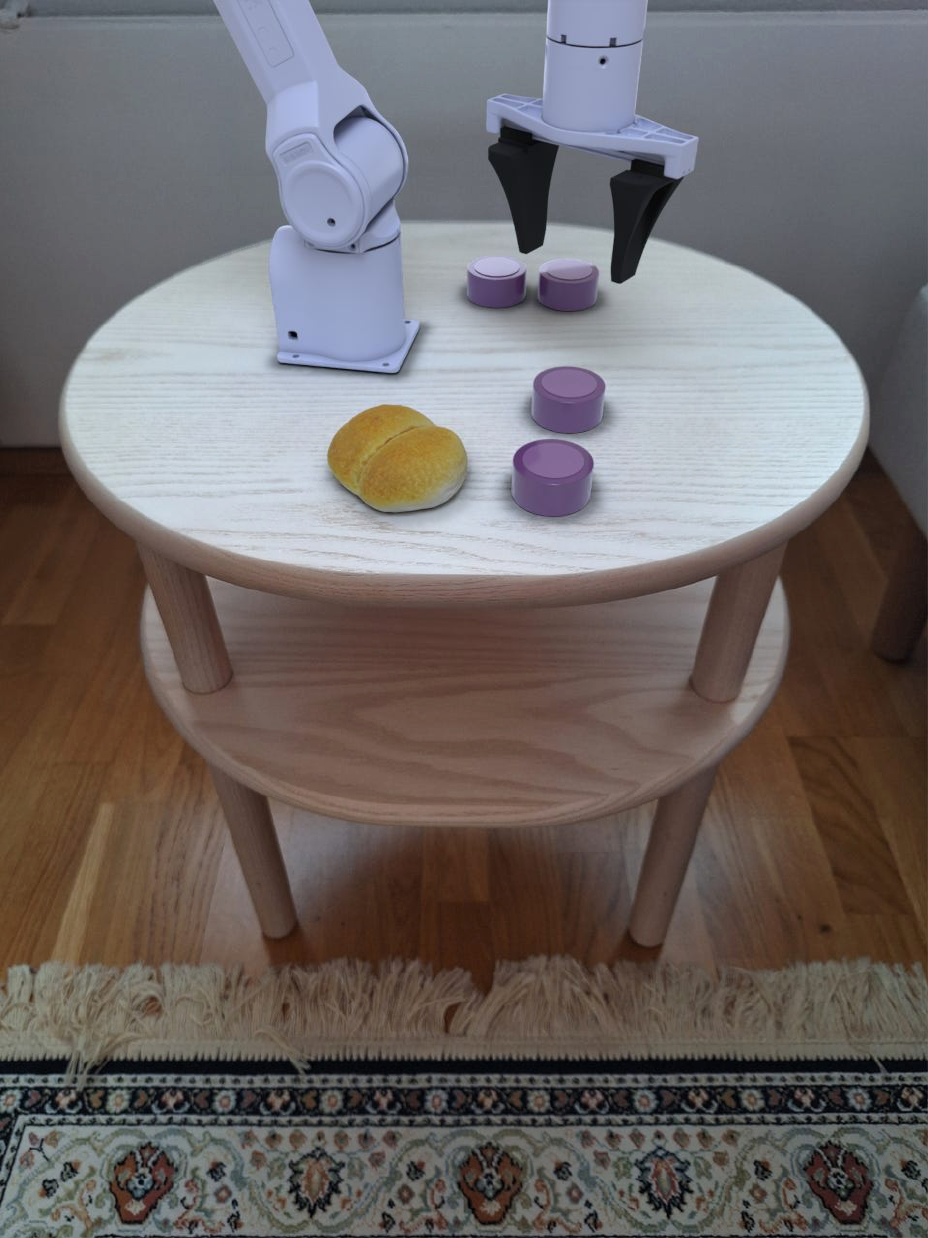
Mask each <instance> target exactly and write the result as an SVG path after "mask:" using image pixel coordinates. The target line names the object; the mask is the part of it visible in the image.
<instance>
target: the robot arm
mask: <svg viewBox="0 0 928 1238" xmlns="http://www.w3.org/2000/svg"><path fill="white" fill-rule="evenodd" d="M212 2H213V3H214V5H215V8H216V9H217V12H218V14H219V15H220V17H221V19H222V21H223V23H224V25H225V27H226V29H227V31H228V33H229V35H230V37H231V39H232V41H233V43H234V44H235V47H236V48H237V50H238V52H239V54H240V57H241V58H242V60H243V62H244V64H245V66H246V68H247V70H248V72H249V74H250V76H251V78H252V80H253V82H254V84H255V85H256V87H257V89H258V92H259V93H260V95H261V98H262V99H263V101H264V103H265V105H266V111H267V112H266V125H265V127H266V129H265V140H264V141H265V142H264V144H265V145H264V146H265V147H264V150H265V153H266V156H267V158H268V159H269V161H270V163H271V165H272V167H273V170H274V172H275V175H276V178H277V184H278V194H279V201H280V207H281V209H282V212H283V214H284V216H285V218H286V220H287V222H288V225H281V226H280V227H278V228H277V230H276V231H275V232H274V235H273V238H272V240H271V243H270V247H269V248H270V249H269V256H268V277H269V278H268V279H269V286H270V292H271V293H270V294H271V300H272V307H273V313H274V320H275V327H276V334H277V340H278V341H277V342H278V349H279V351H278V353H277V355H276V359H277V362H279V363H281V364H282V363H283V364H293V365H302V366H303V365H304V366H314V367H322V368H323V367H324V368H333V369H334V368H335V369H336V368H337V369H345V370H354V371H355V370H356V371H366V372H377V373H389V374H395V373H397V372H399V371H400V370H401V367H402V365H403V364H404V361H405V358H406V356H407V355H408V353H409V350H410V348H411V346H412V344H413V342H414V340H415V338H416V336H417V334H418V332H419V330H420V323H421V322H420V321H418V320H416V319H406V318H405V297H404V296H405V295H404V292H405V291H404V273H403V254H402V251H403V250H402V232H401V220H400V217H399V215H398V212H397V210H396V200H395V197H396V196H398V194H399V193H400V192H401V191H402V189H403V187H404V185H405V184H406V180H407V178H408V173H409V156H408V155H409V154H408V153H407V148H406V145H405V143H404V141H403V138H402V137H401V135H400V134H399V132H398V131H397V130H396V128H395V127H394V126H393V125H392V124H391V123H390V122H389V121H388V120H387V119H386V118H384V117H383V115H381V114H380V113H379V110H377V109H376V107H375V105H374V104H373V102H372V100H371V97H370V95H369V93H368V91H367V89H366V88H365V87H364V85H363V84H362V83H360V81H358V80H357V79H355V78H354V77H353V76H351V75H350V74H349V73H348V72H346V71H345V70H344V69H343V68H342V67H341V66H340V65H339V63H338V61H337V59H336V57H335V55H334V53H333V50H332V48H331V46H330V44H329V41H328V39H327V37H326V35H325V33H324V31H323V28H322V27H321V25H320V22H319V20H318V18H317V16H316V13H315V12H314V9H313V7H312V5H311V2H310V0H212ZM648 2H649V0H547V15H546V35H545V50H544V51H545V52H544V54H545V55H544V69H543V70H544V71H543V89H542V98H541V97H539V98H538V97H529V96H521V95H515V94H511V93H510V94H509V93H503V94H499V95H496V96H494V97H491V98H488V99H487V100H486V121H485V122H486V123H485V125H486V132H488V133H492V134H495V135H499V137H498V138H497V142H496V143H492V144H491V145H489V146H488V148H487V160H488V161H489V163H490V166H491V167H492V168H493V170H494V172H495V174H496V176H497V178H498V180H499V183H500V185H501V187H502V189H503V192H504V195H505V197H506V200H507V201H506V202H507V204H508V207H509V210H510V215H511V219H512V223H513V227H514V233H515V237H516V243H517V247H518V251H519V253H520V254H523V255H528V254H530V253H532V252H533V251H536V250H537V249H539V248H541V247H543V246H544V244H545V243H544V242H545V239H546V232H547V222H548V207H549V195H550V188H551V181H552V177H553V173H554V172H553V171H554V168H555V163H556V159H557V155H558V151H559V148H560V147H564V148H568V149H572V150H576V151H581V152H583V153H588V154H592V155H595V156H600V157H604V158H608V159H612V160H616V161H620V162H623V163H624V162H625V163H628V164H630V169H625V170H623V171H621V172H619V173H617V174H615V175H613V176H611V177H610V178H609V189H610V194H611V195H610V196H611V201H612V208H613V210H612V212H613V242H612V249H611V250H612V251H611V258H610V282H611V283H613V284H618V285H621V284H623V283H625V282H627V281H628V280H629V279H631V278H632V277H634V276H636V273H637V270H638V267H639V264H640V261H641V258H642V256H643V252H644V250H645V247H646V245H647V242H648V240H649V238H650V235H651V233H652V232H653V229H654V227H655V224H656V223H657V221H658V219H659V217H660V216H661V214H662V212H663V211H664V208H665V206H667V203H668V202H669V200H670V199H671V197H672V196H673V194H674V192H675V191H676V190H677V189H678V187H679V185H680V184H681V183H682V181H683V180H684V177H685V176H687V175H689V174H690V173H692V172H694V171H695V166H696V157H697V152H698V145H699V141H700V138H699V136H695V135H691V134H688V133H684V132H681V131H678V130H676V129H672V128H670V127H668V126H666V125H663V124H661V123H658V122H656V121H653V120H651V119H648V118H646V117H644V116H642V115H640V114H636V108H637V107H636V106H637V98H638V91H639V90H638V89H639V81H640V73H641V72H640V71H641V64H642V53H643V45H644V37H645V28H646V21H647V20H646V19H647V12H648V11H647V10H648Z"/></svg>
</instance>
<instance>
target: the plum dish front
mask: <svg viewBox="0 0 928 1238" xmlns="http://www.w3.org/2000/svg"><path fill="white" fill-rule="evenodd" d="M511 465H512V468H511V469H512V470H511V492H510V493H511V496H512V498H513V500H514V502H515V503H516V504H517V505H518V506H519V507H520V508H521V509H523V510H525V511H527V512H529V513H532V514H535V515H539V516H544V517H563V516H568V515H571V514H575V513H577V512H579V511H580V510H582V509H583V508H585V507H586V506H587V505H588V503H589V501H590V500H591V495H592V494H591V493H592V485H593V478H594V477H593V476H594V469H595V468H594V467H595V462H594V457H593V456H592V455H591V453H590V452H589V451H588V450H587V449H586V448H584V447H583V446H581V445H579V443H578V444H577V443H575V442H572V441H568V440H565V439H559V438H544V439H543V438H542V439H536V440H532V441H530V442H527V443H525V444H523V445H521V447H519V448H518V449H517V450H516V451H515V452H514V454H513V456H512V464H511Z"/></svg>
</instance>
